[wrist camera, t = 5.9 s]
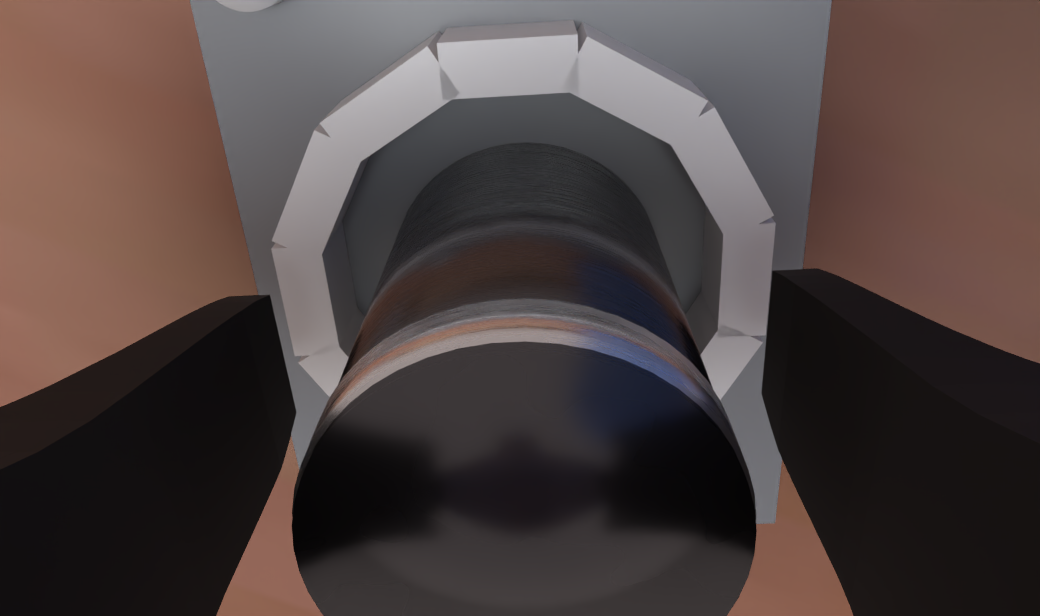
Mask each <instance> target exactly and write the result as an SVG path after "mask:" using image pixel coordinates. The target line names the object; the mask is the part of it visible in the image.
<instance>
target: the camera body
mask: <svg viewBox="0 0 1040 616" xmlns="http://www.w3.org/2000/svg"><path fill="white" fill-rule="evenodd" d="M831 2H832V0H190V4H191V8H192V12H193V17H194V21H195V25H196V29H197V34H198V38H199V42H200V46H201V51H202V55H203V59H204V64H205V68H206V72H207V76H208V81H209V85H210V89H211V94H212V98H213V102H214V106H215V111H216V115H217V119H218V123H219V128H220V132H221V136H222V141H223V145H224V149H225V153H226V158H227V162H228V166H229V171H230V175H231V179H232V183H233V188H234V192H235V196H236V200H237V205H238V209H239V213H240V218H241V222H242V226H243V230H244V235H245V239H246V243H247V248H248V252H249V256H250V260H251V265H252V269H253V273H254V277H255V282H256V286H257V290H258V295H270V297H271V302H272V306H273V311H274V315H275V320H276V324H277V328H278V333H279V337H280V342H281V346H282V350H283V355H284V359H285V364H286V368H287V372H288V377H289V381H290V386H291V390H292V395H293V399H294V403H295V408H296V412H297V413H296V417H295V420H294V424H293V428H292V432H291V436H292V440H293V444H294V449H295V453H296V457H297V461H298V466H299V470H300V466H301V463H302V461H303V458H304V456H305V453H306V451H307V449H308V446H309V444H310V441H311V439H312V436H313V434H314V431H315V429H316V426H317V424H318V421H319V419H320V417H321V415H322V412H323V410H324V408H325V406H326V404H327V402H328V400H329V397H330V396H331V395H332V393H333V392H334V390H335V389H336V387H337V386H338V383H339V381H340V378H341V376H342V373H343V371H344V368H345V366H346V363H347V361H348V358H349V356H350V353H351V351H352V348H353V346H354V343H355V340H356V338H357V335H358V333H359V330H360V328H361V325H362V323H363V320H364V318H365V315H366V313H367V310H368V308H369V305H370V303H371V300H372V298H373V295H374V292H375V290H376V287H377V285H378V282H379V280H380V277H381V275H382V272H383V270H384V267H385V265H386V262H387V260H388V257H389V255H390V252H391V250H392V247H393V244H394V242H395V239H396V237H397V234H398V232H399V229H400V227H401V224H402V222H403V220H404V218H405V216H406V213H407V211H408V209H409V207H410V206H411V204H412V203H413V201H414V200H415V198H416V197H417V195H418V194H419V193H420V191H421V190H422V189H423V188H424V187H425V186H426V185H427V183H428V182H429V181H430V180H432V179H433V178H434V177H435V176H436V175H437V174H438V173H440V172H441V171H442V170H443V169H445V168H446V167H448V166H449V165H451V164H452V163H454V162H455V161H457V160H459V159H461V158H463V157H465V156H467V155H469V154H471V153H474V152H477V151H480V150H483V149H486V148H489V147H493V146H498V145H504V144H509V143H526V142H529V143H542V144H550V145H555V146H560V147H564V148H567V149H570V150H573V151H576V152H579V153H582V154H584V155H586V156H588V157H590V158H592V159H594V160H596V161H598V162H599V163H601V164H602V165H604V166H605V167H607V168H608V169H610V170H611V171H613V172H614V173H615V174H616V175H617V176H618V177H619V178H620V179H621V180H623V181H624V182H625V183H626V184H627V185H628V187H629V188H630V189H631V190H632V191H633V193H634V194H635V195H636V196H637V198H638V199H639V201H640V203H641V204H642V206H643V207H644V209H645V211H646V213H647V215H648V217H649V220H650V222H651V224H652V226H653V229H654V232H655V234H656V237H657V240H658V243H659V245H660V248H661V251H662V253H663V256H664V259H665V261H666V264H667V267H668V269H669V272H670V275H671V277H672V280H673V283H674V286H675V288H676V291H677V294H678V296H679V299H680V302H681V304H682V307H683V310H684V312H685V315H686V318H687V320H688V323H689V326H690V328H691V331H692V334H693V337H694V339H695V342H696V345H697V347H698V350H699V353H700V355H701V358H702V361H703V363H704V366H705V369H706V371H707V374H708V377H709V379H710V382H711V385H712V388H713V390H714V391H715V393H716V395H717V396H718V398H719V399H720V401H721V403H722V405H723V407H724V409H725V412H726V414H727V416H728V418H729V420H730V423H731V425H732V428H733V430H734V433H735V436H736V438H737V441H738V444H739V446H740V449H741V451H742V454H743V457H744V459H745V462H746V464H747V467H748V470H749V474H750V477H751V481H752V485H753V489H754V493H755V505H756V524H765V523H775V519H776V510H777V500H778V491H779V482H780V473H781V463H782V457H781V455H780V453H779V451H778V448H777V445H776V442H775V438H774V435H773V432H772V429H771V426H770V422H769V419H768V415H767V412H766V408H765V405H764V401H763V397H762V394H761V391H762V380H763V369H764V358H765V347H766V336H767V325H768V313H769V302H770V291H771V280H772V271H775V270H796V269H803V261H804V251H805V242H806V233H807V224H808V214H809V205H810V196H811V187H812V178H813V168H814V159H815V150H816V141H817V131H818V122H819V113H820V104H821V95H822V85H823V76H824V67H825V58H826V48H827V39H828V30H829V21H830V12H831Z"/></svg>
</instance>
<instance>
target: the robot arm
mask: <svg viewBox="0 0 1040 616" xmlns="http://www.w3.org/2000/svg"><path fill="white" fill-rule="evenodd" d="M761 394H762V397H763V401H764V405H765V408H766V412H767V415H768V419H769V422H770V426H771V429H772V432H773V435H774V438H775V442H776V445H777V448H778V451H779V453H780V455H781V457H782V460H783V462H784V464H785V466H786V468H787V470H788V473H789V475H790V477H791V479H792V481H793V483H794V485H795V488H796V490H797V492H798V494H799V496H800V498H801V500H802V502H803V505H804V507H805V509H806V511H807V513H808V515H809V517H810V519H811V521H812V523H813V525H814V528H815V530H816V532H817V534H818V536H819V538H820V540H821V542H822V544H823V546H824V548H825V551H826V553H827V555H828V557H829V559H830V561H831V563H832V565H833V567H834V569H835V572H836V574H837V576H838V578H839V580H840V583H841V585H842V588H843V590H844V592H845V595H846V597H847V600H848V602H849V604H850V607H851V610H852V613H853V615H854V616H1040V364H1039V363H1036V362H1033V361H1030V360H1027V359H1024V358H1022V357H1019V356H1016V355H1014V354H1011V353H1008V352H1005V351H1003V350H1000V349H998V348H995V347H993V346H990V345H988V344H985V343H983V342H981V341H978V340H976V339H973V338H971V337H969V336H966V335H964V334H961V333H959V332H956V331H954V330H952V329H950V328H947V327H945V326H943V325H941V324H938V323H936V322H934V321H932V320H930V319H927V318H925V317H923V316H921V315H919V314H917V313H915V312H912V311H910V310H908V309H906V308H904V307H902V306H900V305H898V304H896V303H894V302H892V301H890V300H887V299H885V298H883V297H881V296H879V295H877V294H875V293H873V292H871V291H869V290H867V289H865V288H863V287H861V286H859V285H856V284H854V283H852V282H850V281H848V280H846V279H843V278H841V277H839V276H837V275H834V274H832V273H829V272H826V271H823V270H820V269H796V270H775V271H772V280H771V291H770V302H769V313H768V325H767V336H766V347H765V358H764V369H763V380H762V391H761ZM296 413H297V412H296V408H295V403H294V399H293V395H292V390H291V386H290V381H289V377H288V372H287V368H286V364H285V359H284V355H283V350H282V346H281V342H280V337H279V333H278V328H277V324H276V320H275V315H274V311H273V306H272V302H271V297H270V295H252V296H231V297H226V298H223V299H220V300H217V301H215V302H213V303H210V304H208V305H206V306H204V307H202V308H200V309H198V310H196V311H193V312H192V313H190V314H188V315H186V316H184V317H182V318H180V319H178V320H176V321H174V322H172V323H171V324H169V325H167V326H165V327H163V328H161V329H159V330H158V331H156V332H154V333H152V334H150V335H148V336H146V337H145V338H143V339H141V340H139V341H137V342H135V343H133V344H132V345H130V346H128V347H126V348H124V349H122V350H120V351H118V352H117V353H115V354H113V355H111V356H109V357H107V358H105V359H103V360H101V361H99V362H97V363H95V364H93V365H91V366H89V367H86V368H84V369H82V370H80V371H78V372H76V373H74V374H72V375H70V376H68V377H66V378H64V379H62V380H60V381H58V382H56V383H54V384H52V385H50V386H48V387H46V388H44V389H41V390H39V391H37V392H35V393H33V394H30V395H28V396H26V397H23V398H21V399H19V400H17V401H14V402H12V403H9V404H7V405H4V406H2V407H0V616H216V615H217V612H218V610H219V607H220V605H221V602H222V600H223V597H224V595H225V592H226V590H227V588H228V586H229V584H230V581H231V579H232V577H233V575H234V573H235V571H236V568H237V566H238V564H239V562H240V560H241V557H242V555H243V553H244V551H245V549H246V546H247V544H248V542H249V540H250V538H251V536H252V533H253V531H254V529H255V527H256V525H257V522H258V520H259V518H260V516H261V514H262V511H263V509H264V507H265V505H266V502H267V500H268V498H269V496H270V493H271V491H272V489H273V487H274V484H275V482H276V480H277V477H278V475H279V473H280V470H281V468H282V464H283V461H284V458H285V454H286V451H287V447H288V444H289V440H290V436H291V432H292V428H293V424H294V420H295V417H296Z"/></svg>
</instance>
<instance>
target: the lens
mask: <svg viewBox="0 0 1040 616" xmlns="http://www.w3.org/2000/svg"><path fill="white" fill-rule="evenodd" d="M292 516H293V520H292V533H293V546H294V552H295V556H296V560H297V564H298V568H299V571H300V574H301V576H302V578H303V581H304V583H305V585H306V588H307V590H308V592H309V594H310V595H311V597H312V599H313V600H314V602H315V603H316V605H317V607H318V608H319V610H320V611H321V613H322V614H323V615H324V616H727V614H728V613H729V611H730V610H731V608H732V607H733V605H734V604H735V602H736V601H737V599H738V598H739V595H740V593H741V591H742V589H743V587H744V584H745V582H746V580H747V578H748V575H749V571H750V568H751V564H752V560H753V557H754V551H755V541H756V505H755V493H754V489H753V485H752V481H751V477H750V474H749V470H748V467H747V464H746V462H745V459H744V457H743V454H742V451H741V449H740V446H739V444H738V441H737V438H736V436H735V433H734V430H733V428H732V425H731V423H730V420H729V418H728V416H727V414H726V412H725V409H724V407H723V405H722V403H721V401H720V399H719V398H718V396H717V395H716V393H715V391H714V390H713V388H712V385H711V382H710V379H709V377H708V374H707V371H706V369H705V366H704V363H703V361H702V358H701V355H700V353H699V350H698V347H697V345H696V342H695V339H694V337H693V334H692V331H691V328H690V326H689V323H688V320H687V318H686V315H685V312H684V310H683V307H682V304H681V302H680V299H679V296H678V294H677V291H676V288H675V286H674V283H673V280H672V277H671V275H670V272H669V269H668V267H667V264H666V261H665V259H664V256H663V253H662V251H661V248H660V245H659V243H658V240H657V237H656V234H655V232H654V229H653V226H652V224H651V222H650V220H649V217H648V215H647V213H646V211H645V209H644V207H643V206H642V204H641V203H640V201H639V199H638V198H637V196H636V195H635V194H634V193H633V191H632V190H631V189H630V188H629V187H628V185H627V184H626V183H625V182H624V181H623V180H621V179H620V178H619V177H618V176H617V175H616V174H615V173H614V172H613V171H611V170H610V169H608V168H607V167H605V166H604V165H602V164H601V163H599V162H598V161H596V160H594V159H592V158H590V157H588V156H586V155H584V154H582V153H579V152H576V151H573V150H570V149H567V148H564V147H560V146H555V145H550V144H542V143H529V142H526V143H509V144H504V145H498V146H493V147H489V148H486V149H483V150H480V151H477V152H474V153H471V154H469V155H467V156H465V157H463V158H461V159H459V160H457V161H455V162H454V163H452V164H451V165H449V166H448V167H446V168H445V169H443V170H442V171H441V172H440V173H438V174H437V175H436V176H435V177H434V178H433V179H432V180H430V181H429V182H428V183H427V185H426V186H425V187H424V188H423V189H422V190H421V191H420V193H419V194H418V195H417V197H416V198H415V200H414V201H413V203H412V204H411V206H410V207H409V209H408V211H407V213H406V216H405V218H404V220H403V222H402V224H401V227H400V229H399V232H398V234H397V237H396V239H395V242H394V244H393V247H392V250H391V252H390V255H389V257H388V260H387V262H386V265H385V267H384V270H383V272H382V275H381V277H380V280H379V282H378V285H377V287H376V290H375V292H374V295H373V298H372V300H371V303H370V305H369V308H368V310H367V313H366V315H365V318H364V320H363V323H362V325H361V328H360V330H359V333H358V335H357V338H356V340H355V343H354V346H353V348H352V351H351V353H350V356H349V358H348V361H347V363H346V366H345V368H344V371H343V373H342V376H341V378H340V381H339V383H338V386H337V387H336V389H335V390H334V392H333V393H332V395H331V396H330V397H329V400H328V402H327V404H326V406H325V408H324V410H323V412H322V415H321V417H320V419H319V421H318V424H317V426H316V429H315V431H314V434H313V436H312V439H311V441H310V444H309V446H308V449H307V451H306V453H305V456H304V458H303V461H302V463H301V466H300V470H299V473H298V477H297V481H296V484H295V488H294V498H293V509H292Z"/></svg>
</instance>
